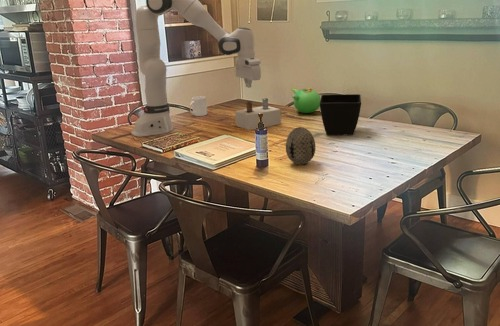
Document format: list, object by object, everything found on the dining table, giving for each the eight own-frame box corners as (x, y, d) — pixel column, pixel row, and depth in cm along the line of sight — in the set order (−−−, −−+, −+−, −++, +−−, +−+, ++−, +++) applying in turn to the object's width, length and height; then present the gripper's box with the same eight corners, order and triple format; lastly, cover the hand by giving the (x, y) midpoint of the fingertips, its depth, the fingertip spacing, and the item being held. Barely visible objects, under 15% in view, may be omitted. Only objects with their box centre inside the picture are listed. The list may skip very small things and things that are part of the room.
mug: (186, 116, 277) (184, 99, 274) (201, 112, 285) (199, 95, 282) (195, 118, 272) (193, 100, 268) (210, 114, 280) (208, 96, 276)
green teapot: (322, 115, 259) (322, 89, 255) (293, 116, 260) (292, 91, 255) (318, 108, 276) (318, 84, 272) (290, 110, 277) (290, 86, 272)
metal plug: (265, 116, 246) (264, 99, 243) (261, 115, 249) (261, 99, 246) (269, 115, 248) (269, 98, 245) (266, 114, 250) (266, 98, 247)
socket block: (249, 130, 237) (248, 115, 234) (236, 125, 249) (235, 111, 246) (281, 123, 246) (280, 109, 244) (267, 119, 258) (266, 105, 255)
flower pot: (360, 137, 213) (361, 101, 208) (319, 137, 217) (319, 102, 212) (359, 127, 231) (360, 94, 225) (321, 127, 234) (321, 94, 229)
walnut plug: (249, 119, 242) (248, 102, 239) (246, 118, 244) (245, 101, 241) (254, 118, 243) (253, 101, 240) (251, 117, 246) (250, 100, 243)
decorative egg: (321, 162, 183) (321, 125, 178) (304, 170, 174) (303, 132, 170) (297, 157, 190) (296, 122, 185) (280, 165, 182) (278, 128, 177)
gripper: (231, 59, 241) (233, 85, 246) (251, 62, 224) (253, 90, 229) (242, 58, 244) (243, 84, 248) (262, 60, 227) (263, 88, 232)
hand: (248, 87), depth 238 cm, fingers closed
